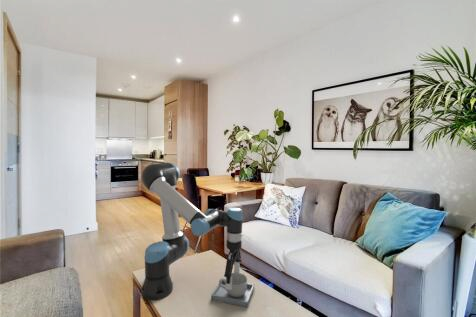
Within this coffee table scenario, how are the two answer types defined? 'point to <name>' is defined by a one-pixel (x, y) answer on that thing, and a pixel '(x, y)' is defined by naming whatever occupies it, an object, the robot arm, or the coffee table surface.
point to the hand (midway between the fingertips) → (232, 281)
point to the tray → (224, 297)
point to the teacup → (236, 284)
